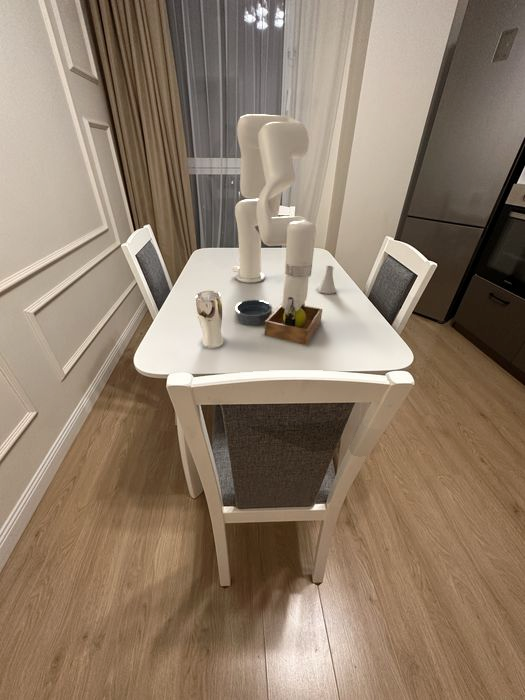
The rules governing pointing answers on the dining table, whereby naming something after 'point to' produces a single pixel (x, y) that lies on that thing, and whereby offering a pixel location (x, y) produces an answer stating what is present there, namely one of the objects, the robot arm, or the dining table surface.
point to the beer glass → (210, 317)
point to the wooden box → (290, 333)
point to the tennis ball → (298, 317)
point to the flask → (327, 282)
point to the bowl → (253, 312)
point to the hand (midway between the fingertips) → (294, 323)
